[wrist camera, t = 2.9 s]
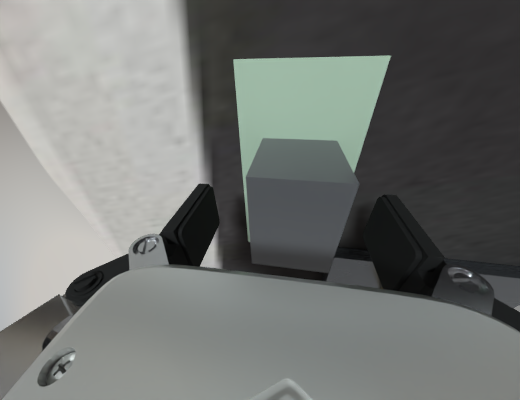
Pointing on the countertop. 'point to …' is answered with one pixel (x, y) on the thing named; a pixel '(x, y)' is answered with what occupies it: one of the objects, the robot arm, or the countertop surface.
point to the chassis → (499, 276)
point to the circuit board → (306, 101)
